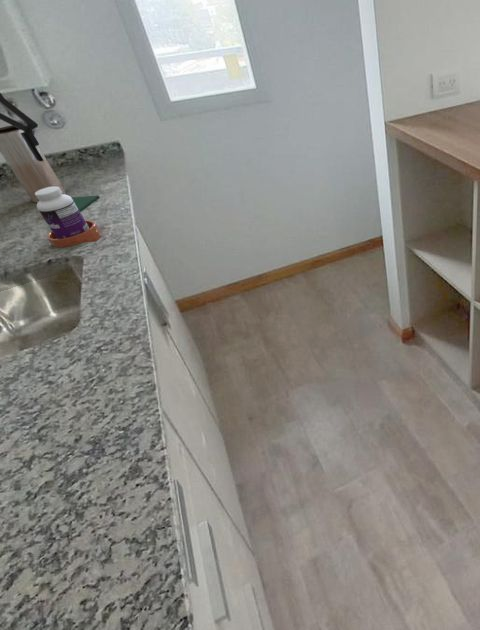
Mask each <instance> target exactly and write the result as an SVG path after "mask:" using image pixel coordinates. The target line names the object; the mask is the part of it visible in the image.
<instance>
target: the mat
mask: <svg viewBox="0 0 480 630" xmlns="http://www.w3.org/2000/svg"><path fill="white" fill-rule="evenodd" d="M71 198H72V199H73V201H74V203H75V204H76V206H77V208H78V210H79V211H80V213H82V212H83V211H84V210H85V209H86V208H88V207H89V206H90V205H92V204H93V203H94V202H96V201H97V200H98V199H100V196H99V195H85V196H73V197H71Z"/></svg>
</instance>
